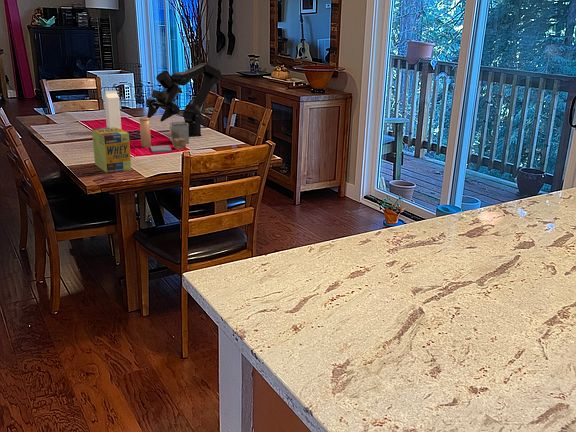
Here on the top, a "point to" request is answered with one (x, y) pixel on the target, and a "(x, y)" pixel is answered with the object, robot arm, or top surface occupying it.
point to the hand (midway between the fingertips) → (154, 119)
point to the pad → (160, 148)
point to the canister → (145, 132)
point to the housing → (179, 131)
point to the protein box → (111, 149)
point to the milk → (112, 109)
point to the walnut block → (179, 143)
